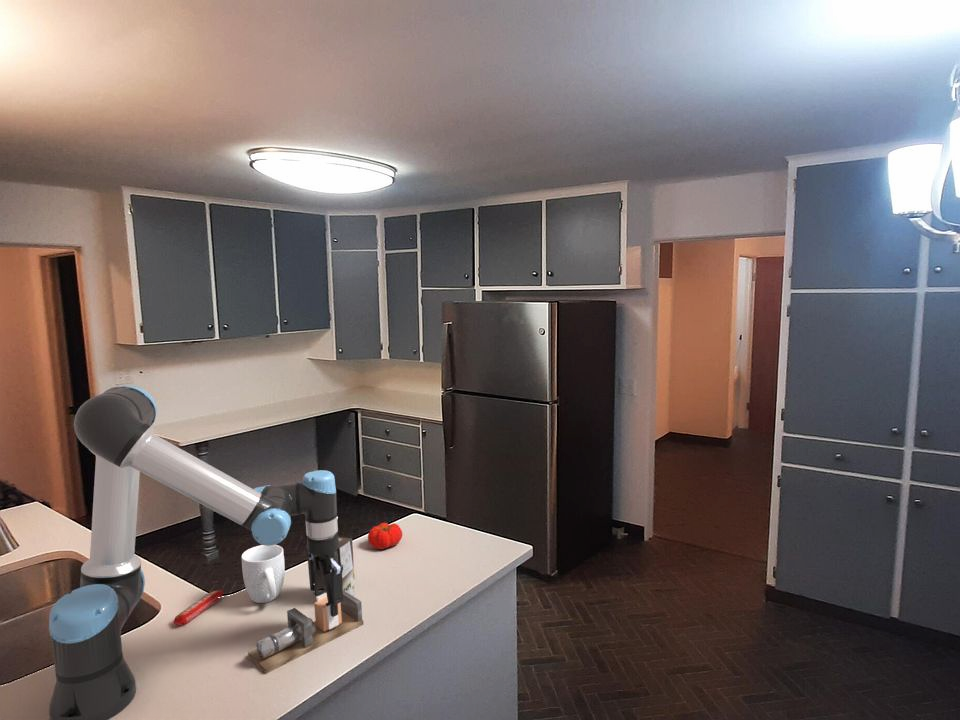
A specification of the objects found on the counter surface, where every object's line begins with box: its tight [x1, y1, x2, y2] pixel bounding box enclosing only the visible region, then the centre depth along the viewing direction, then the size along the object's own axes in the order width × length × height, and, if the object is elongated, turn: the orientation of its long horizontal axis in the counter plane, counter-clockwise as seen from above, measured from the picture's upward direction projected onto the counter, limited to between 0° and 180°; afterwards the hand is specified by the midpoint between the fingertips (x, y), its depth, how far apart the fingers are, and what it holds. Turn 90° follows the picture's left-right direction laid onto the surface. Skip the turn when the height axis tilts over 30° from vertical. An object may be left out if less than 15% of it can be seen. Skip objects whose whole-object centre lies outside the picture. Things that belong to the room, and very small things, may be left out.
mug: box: [241, 544, 286, 604], centre depth 161 cm, size 15×11×13 cm
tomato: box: [367, 522, 403, 550], centre depth 195 cm, size 10×11×6 cm
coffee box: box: [323, 536, 356, 597], centre depth 163 cm, size 9×6×16 cm
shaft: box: [255, 617, 316, 659], centre depth 139 cm, size 13×4×4 cm, turn 136°
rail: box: [247, 591, 364, 674], centre depth 143 cm, size 26×9×7 cm, turn 136°
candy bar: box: [172, 590, 224, 626], centre depth 157 cm, size 16×4×3 cm, turn 164°
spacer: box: [313, 597, 342, 631], centre depth 147 cm, size 5×4×6 cm
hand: (328, 622), depth 147 cm, fingers closed on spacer, 4 cm apart
